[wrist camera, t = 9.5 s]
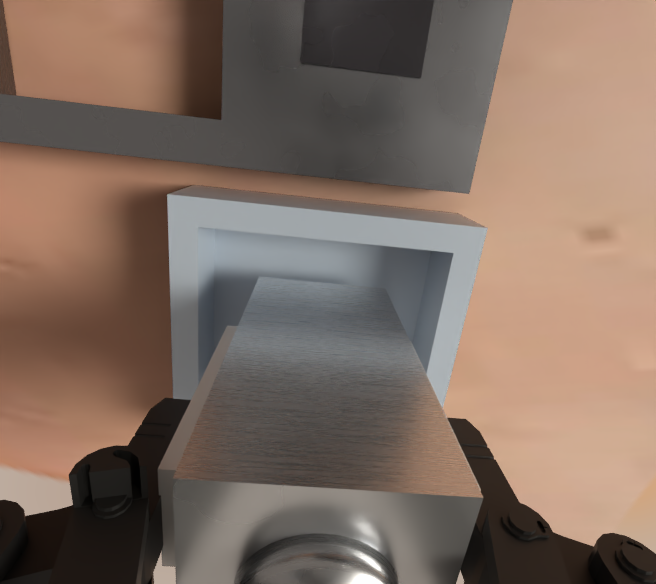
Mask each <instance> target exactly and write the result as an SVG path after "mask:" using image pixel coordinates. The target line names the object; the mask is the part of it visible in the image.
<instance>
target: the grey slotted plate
mask: <svg viewBox="0 0 656 584" xmlns="http://www.w3.org/2000/svg"><path fill="white" fill-rule="evenodd" d="M512 2H513V0H223V54H222V117H221V120H217V119H208V118H200V117H192V116H183V115H175V114H166V113H158V112H149V111H141V110H133V109H124V108H116V107H107V106H99V105H90V104H82V103H74V102H65V101H57V100H48V99H40V98H31V97H23V96H16V90H15V84H14V77H13V70H12V63H11V56H10V49H9V42H8V35H7V28H6V21H5V15H4V8H3V1H2V0H0V142H9V143H18V144H27V145H36V146H45V147H54V148H63V149H72V150H81V151H90V152H98V153H107V154H116V155H125V156H134V157H143V158H152V159H161V160H170V161H179V162H188V163H197V164H206V165H215V166H224V167H233V168H242V169H251V170H260V171H269V172H278V173H287V174H296V175H305V176H314V177H323V178H332V179H341V180H350V181H359V182H368V183H377V184H386V185H395V186H404V187H413V188H422V189H431V190H440V191H449V192H458V193H467V194H469V192H470V188H471V183H472V179H473V174H474V170H475V166H476V161H477V157H478V152H479V148H480V144H481V139H482V135H483V130H484V126H485V122H486V117H487V113H488V108H489V104H490V99H491V95H492V91H493V86H494V82H495V77H496V73H497V69H498V64H499V60H500V55H501V51H502V47H503V42H504V38H505V33H506V29H507V24H508V20H509V16H510V11H511V7H512Z"/></svg>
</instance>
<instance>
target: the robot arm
mask: <svg viewBox="0 0 656 584" xmlns="http://www.w3.org/2000/svg"><path fill="white" fill-rule="evenodd" d="M237 327H238V326H227V327H226V329H225V331H224V333H223V335H222V337H221V339H220V341H219V344H218V346H217V348H216V350H215V352H214V354H213V356H212V358H211V360H210V362H209V364H208V366H207V368H206V370H205V372H204V374H203V377H202V379H201V381H200V383H199V385H198V387H197V389H196V391H195V393H194V395H193V397H192V399H191V400H185V399H172V398H165V399H163V400H162V401H161V402H159V403H158V404H157V405H155V406H154V407H153V408H151V409H150V411H149V412H148V414H147V416H146V417H145V419H144V420H143V422H142V425H140V427H139V428H138V430H137V432H136V433H135V437H133V438H132V440H131V441H130V443H129V445H128V446H112V447H107V448H102V449H100V450H97V451H95V452H93V453H91V454H89V455H87V456H86V457H84V458H83V459H82V460H81V461H79V462H78V463H77V464H76V465H75V466H74V468H73V469H72V471H71V472H70V474H69V480H70V487H71V493H72V500H73V505H72V506H69V507H66V508H62V509H58V510H54V511H49V512H44V513H39V514H34V515H29V516H25V513H24V509H23V508H22V507H21V506H20V505H19V504H18V503H16V502H12V501H7V500H0V584H154V579H153V571H154V569H155V566H156V563H157V561H158V558H159V556H160V553H161V550H162V566H174V567H176V566H175V536H174V507H173V476H174V474H175V471H176V469H177V467H178V464H179V462H180V460H181V458H182V455H183V453H184V451H185V448H186V446H187V444H188V441H189V439H190V437H191V434H192V432H193V430H194V427H195V425H196V423H197V420H198V418H199V416H200V413H201V411H202V409H203V406H204V404H205V402H206V399H207V397H208V395H209V392H210V390H211V388H212V385H213V383H214V381H215V378H216V376H217V374H218V371H219V369H220V367H221V364H222V362H223V360H224V357H225V355H226V353H227V350H228V348H229V346H230V343H231V341H232V339H233V336H234V334H235V332H236V329H237ZM410 342H411V341H410ZM411 344H412V343H411ZM412 346H413V345H412ZM413 348H414V347H413ZM414 351H415V349H414ZM415 353H416V351H415ZM416 355H417V353H416ZM417 357H418V355H417ZM418 359H419V358H418ZM419 361H420V360H419ZM420 363H421V362H420ZM421 365H422V364H421ZM422 368H423V366H422ZM423 370H424V368H423ZM424 372H425V370H424ZM425 374H426V372H425ZM426 376H427V374H426ZM427 378H428V377H427ZM428 380H429V379H428ZM429 383H430V381H429ZM430 385H431V383H430ZM431 387H432V385H431ZM432 389H433V387H432ZM433 391H434V389H433ZM434 393H435V391H434ZM435 395H436V393H435ZM436 397H437V396H436ZM437 400H438V398H437ZM438 402H439V400H438ZM439 404H440V402H439ZM440 406H441V404H440ZM441 408H442V406H441ZM442 410H443V408H442ZM443 412H444V410H443ZM444 415H445V413H444ZM445 417H446V415H445ZM446 419H447V421H448V423H449V425H450V427H451V429H452V432H453V434H454V436H455V438H456V440H457V442H458V444H459V447H460V449H461V451H462V453H463V455H464V457H465V459H466V461H467V464H468V466H469V468H470V470H471V472H472V474H473V476H474V479H475V481H476V483H477V485H478V487H479V489H480V491H481V493H482V496H483V501H482V504H481V507H480V510H479V513H478V516H477V519H476V523H475V526H474V529H473V532H472V535H471V538H470V541H469V544H468V547H467V550H466V554H465V557H464V560H463V563H462V566H461V569H460V570H461V573H462V575H463V579H464V584H656V554H655V553H654V552H652V551H651V550H650V549H648V548H647V547H645V546H644V545H643V544H641V543H639V542H637V541H635V540H633V539H631V538H629V537H627V536H624V535H619V534H615V533H609V534H603V535H602V536H601V537H600V538H599V539H598V540H597V542H596V544H595V546H594V547H593V546H590V545H587V544H584V543H581V542H578V541H575V540H572V539H569V538H566V537H563V536H561V535H558V534H556V533H553V532H552V530H551V528H550V526H549V524H548V523H547V522H546V521H545V520H544V519H543V518H542V517H541V516H540V515H539V514H538V513H537V512H535V511H534V510H532V509H531V508H529V507H528V506H526V505H524V504H521V503H519V501H518V499H517V497H516V496H515V494H514V492H513V490H512V488H511V487H510V485H509V483H508V481H507V480H506V478H505V476H504V474H503V472H502V471H501V469H500V467H499V465H498V464H497V462H496V460H494V456H493V455H492V453H491V451H490V449H489V448H487V444H486V442H485V440H484V439H483V437H482V435H481V433H480V432H479V431H478V430H477V429H476V428H475V427H474V426H473V425H472V424H471V423H470V422H469V421H467V420H466V419H457V418H447V417H446Z"/></svg>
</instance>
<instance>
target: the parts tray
mask: <svg viewBox="0 0 656 584" xmlns="http://www.w3.org/2000/svg"><path fill="white" fill-rule="evenodd" d="M167 204H168V238H169V273H170V307H171V342H172V376H173V399H185V400H191V399H192V397H193V395H194V393H195V391H196V389H197V387H198V385H199V383H200V381H201V379H202V377H203V374H204V372H205V370H206V368H207V366H208V364H209V362H210V360H211V358H212V356H213V354H214V352H215V350H216V348H217V346H218V344H219V341H220V339H221V337H222V335H223V333H224V331H225V329H226V327H227V326H238V325H239V322H240V320H241V318H242V315H243V313H244V311H245V308H246V306H247V304H248V301H249V299H250V297H251V294H252V292H253V290H254V287H255V285H256V283H257V280H258V278H259V277H270V278H280V279H291V280H301V281H312V282H323V283H333V284H344V285H354V286H365V287H375V288H385V289H386V291H387V293H388V295H389V297H390V299H391V301H392V304H393V306H394V308H395V310H396V312H397V314H398V316H399V319H400V321H401V323H402V325H403V327H404V329H405V331H406V333H407V336H408V338H409V340H410V341H411V343H412V345H413V347H414V349H415V351H416V353H417V355H418V358H419V360H420V362H421V364H422V366H423V368H424V370H425V372H426V374H427V377H428V379H429V381H430V383H431V385H432V387H433V389H434V391H435V393H436V396H437V398H438V400H439V402H440V404H441V406H442V408H443V405H444V401H445V397H446V393H447V389H448V385H449V381H450V377H451V373H452V369H453V365H454V361H455V357H456V353H457V349H458V345H459V341H460V337H461V333H462V329H463V325H464V321H465V317H466V313H467V309H468V305H469V301H470V297H471V293H472V289H473V285H474V281H475V277H476V273H477V269H478V265H479V261H480V257H481V253H482V249H483V245H484V241H485V237H486V233H487V229H488V228H486V227H484V226H482V225H480V224H478V223H476V222H474V221H472V220H470V219H468V218H466V217H464V216H462V215H460V214H458V213H449V212H440V211H431V210H422V209H412V208H403V207H394V206H384V205H375V204H366V203H357V202H347V201H338V200H329V199H320V198H310V197H301V196H292V195H283V194H273V193H264V192H255V191H245V190H236V189H227V188H218V187H208V186H199V185H192V186H189V187H186V188H184V189H181V190H178V191H175V192H172V193H169V194H167Z"/></svg>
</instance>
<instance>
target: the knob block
mask: <svg viewBox="0 0 656 584" xmlns="http://www.w3.org/2000/svg"><path fill="white" fill-rule="evenodd" d="M482 501H483V496H482V493H481V491H480V489H479V487H478V485H477V483H476V481H475V479H474V476H473V474H472V472H471V470H470V468H469V466H468V464H467V461H466V459H465V457H464V455H463V453H462V451H461V449H460V447H459V444H458V442H457V440H456V438H455V436H454V434H453V432H452V429H451V427H450V425H449V423H448V421H447V419H446V417H445V415H444V412H443V410H442V408H441V406H440V404H439V402H438V400H437V397H436V395H435V393H434V391H433V389H432V387H431V385H430V383H429V380H428V378H427V376H426V374H425V372H424V370H423V368H422V365H421V363H420V361H419V359H418V357H417V355H416V353H415V351H414V348H413V346H412V344H411V342H410V340H409V338H408V336H407V333H406V331H405V329H404V327H403V325H402V323H401V321H400V319H399V316H398V314H397V312H396V310H395V308H394V306H393V304H392V301H391V299H390V297H389V295H388V293H387V291H386V289H385V288H375V287H365V286H354V285H344V284H333V283H323V282H312V281H301V280H291V279H280V278H270V277H259V278H258V280H257V283H256V285H255V287H254V290H253V292H252V294H251V297H250V299H249V301H248V304H247V306H246V308H245V311H244V313H243V315H242V318H241V320H240V322H239V325H238V327H237V329H236V332H235V334H234V336H233V339H232V341H231V343H230V346H229V348H228V350H227V353H226V355H225V357H224V360H223V362H222V364H221V367H220V369H219V371H218V374H217V376H216V378H215V381H214V383H213V385H212V388H211V390H210V392H209V395H208V397H207V399H206V402H205V404H204V406H203V409H202V411H201V413H200V416H199V418H198V420H197V423H196V425H195V427H194V430H193V432H192V434H191V437H190V439H189V441H188V444H187V446H186V448H185V451H184V453H183V455H182V458H181V460H180V462H179V464H178V467H177V469H176V471H175V474H174V476H173V507H174V536H175V566H176V584H456V581H457V578H458V575H459V572H460V569H461V566H462V563H463V560H464V557H465V554H466V550H467V547H468V544H469V541H470V538H471V535H472V532H473V529H474V526H475V523H476V519H477V516H478V513H479V510H480V507H481V504H482Z"/></svg>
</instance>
